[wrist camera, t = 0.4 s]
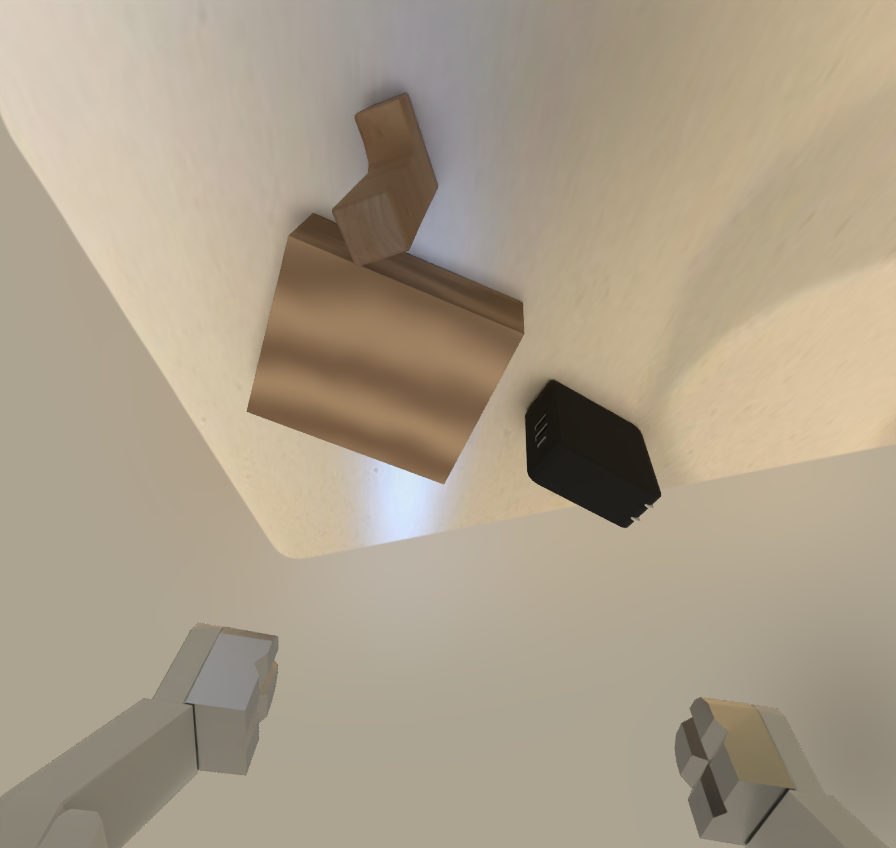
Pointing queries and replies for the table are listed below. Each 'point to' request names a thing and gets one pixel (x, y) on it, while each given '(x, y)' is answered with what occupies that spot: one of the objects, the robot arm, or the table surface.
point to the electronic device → (589, 456)
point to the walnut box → (381, 352)
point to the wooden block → (387, 184)
